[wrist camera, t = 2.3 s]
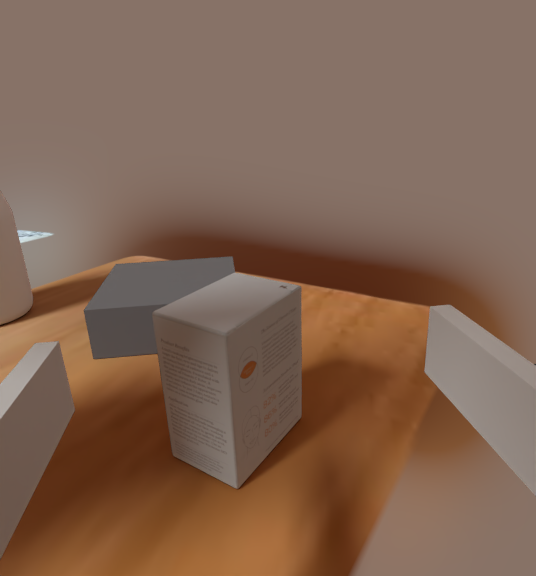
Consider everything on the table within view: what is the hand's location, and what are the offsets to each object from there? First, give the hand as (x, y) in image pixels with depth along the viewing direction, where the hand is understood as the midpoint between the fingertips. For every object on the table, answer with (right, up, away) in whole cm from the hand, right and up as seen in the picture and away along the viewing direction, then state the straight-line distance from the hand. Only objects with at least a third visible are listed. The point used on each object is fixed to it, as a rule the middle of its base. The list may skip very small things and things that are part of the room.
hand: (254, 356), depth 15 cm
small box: (-1, -8, +14) cm, 17 cm away
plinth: (-10, -1, +32) cm, 34 cm away
